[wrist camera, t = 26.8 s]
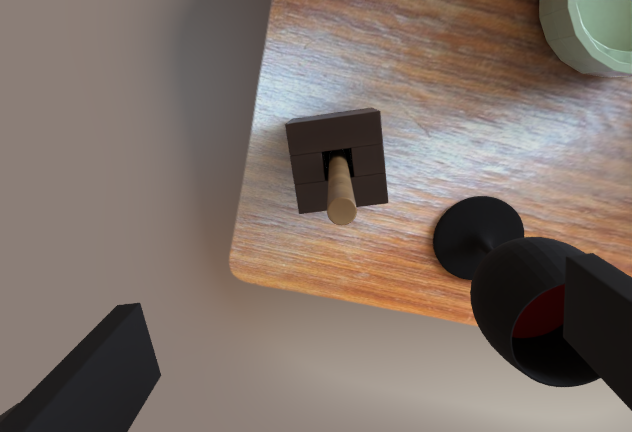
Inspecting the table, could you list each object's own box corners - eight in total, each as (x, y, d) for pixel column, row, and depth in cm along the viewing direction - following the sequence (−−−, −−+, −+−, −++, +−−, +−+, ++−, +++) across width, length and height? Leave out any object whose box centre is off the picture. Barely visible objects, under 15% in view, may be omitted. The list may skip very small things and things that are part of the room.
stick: (328, 148, 46) (325, 199, 25) (344, 146, 46) (355, 195, 25) (330, 164, 46) (329, 227, 25) (346, 162, 46) (358, 224, 25)
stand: (292, 118, 45) (285, 124, 38) (372, 107, 44) (380, 110, 38) (303, 196, 48) (299, 214, 41) (380, 187, 47) (388, 203, 40)
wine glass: (490, 177, 46) (601, 238, 27) (540, 244, 48) (677, 345, 29) (414, 233, 48) (468, 327, 29) (466, 295, 50) (547, 420, 31)
